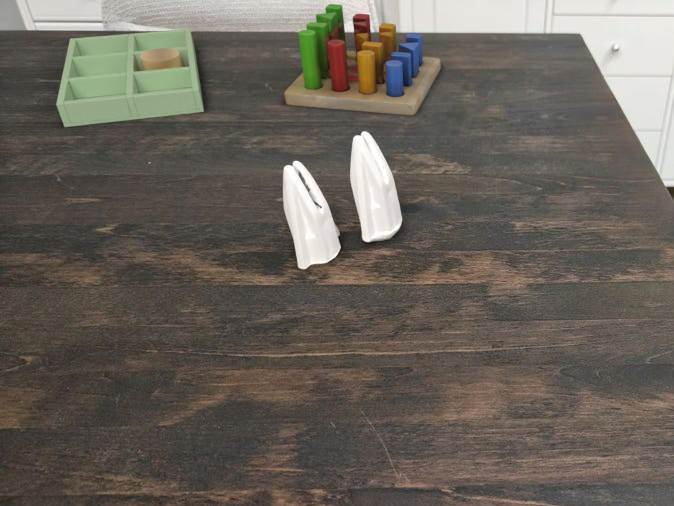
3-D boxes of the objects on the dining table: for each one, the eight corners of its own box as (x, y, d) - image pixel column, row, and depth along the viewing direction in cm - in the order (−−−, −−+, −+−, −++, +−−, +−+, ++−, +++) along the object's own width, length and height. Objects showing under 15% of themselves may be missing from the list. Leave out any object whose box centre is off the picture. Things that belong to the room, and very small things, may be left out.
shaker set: (397, 220, 76) (391, 116, 69) (416, 239, 74) (412, 133, 66) (285, 251, 72) (266, 143, 64) (301, 273, 69) (282, 162, 62)
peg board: (414, 117, 95) (412, 49, 90) (284, 106, 97) (273, 38, 91) (441, 68, 108) (440, 6, 103) (326, 59, 110) (318, -3, 104)
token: (146, 85, 99) (139, 62, 97) (146, 72, 103) (140, 49, 101) (185, 81, 101) (179, 59, 99) (183, 68, 104) (178, 46, 102)
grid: (65, 129, 91) (56, 104, 89) (77, 60, 108) (69, 38, 106) (204, 113, 95) (199, 89, 93) (195, 50, 112) (190, 28, 110)
